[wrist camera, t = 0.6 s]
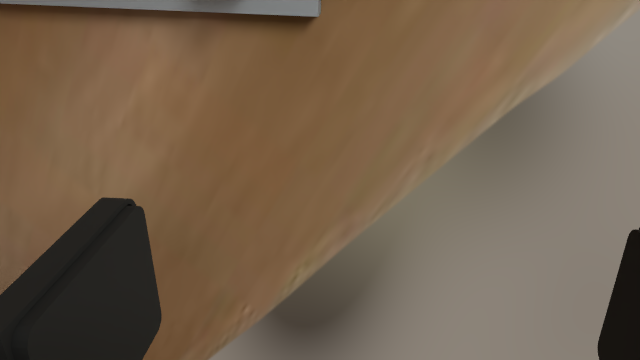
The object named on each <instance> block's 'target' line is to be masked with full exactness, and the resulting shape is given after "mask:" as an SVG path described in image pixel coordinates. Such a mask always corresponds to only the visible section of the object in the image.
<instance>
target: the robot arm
mask: <svg viewBox="0 0 640 360" xmlns="http://www.w3.org/2000/svg"><path fill="white" fill-rule="evenodd" d="M160 323H161V308H160V302H159V296H158V290H157V284H156V278H155V272H154V267H153V261H152V255H151V249H150V243H149V237H148V231H147V225H146V219H145V214H144V210H143V208H142V207H140V206H136V204H135V202H134V201H133V200H132V199H124V198H101V199H100V200H99V201H98V202H96V203H95V204H94V205H93V206H92V207H91V208H90V209H89V210H88V211H87V212H86V213H85V214H84V215H83V216H82V217H81V218H80V219H79V220H78V221H77V222H76V223H75V224H74V225H73V226H72V227H71V228H70V229H68V230H67V231H66V232H65V233H64V234H63V235H62V236H61V237H60V238H59V239H58V240H57V241H56V242H55V243H54V244H53V245H52V246H51V247H50V248H49V249H48V250H47V251H46V252H45V253H44V254H43V255H41V256H40V257H39V258H38V259H37V260H36V261H35V262H34V263H33V264H32V265H31V266H30V267H29V268H28V269H27V270H26V271H25V272H24V273H23V274H22V275H21V276H20V277H19V278H18V279H17V280H16V281H14V282H13V283H12V284H11V285H10V286H9V287H8V288H7V289H6V290H5V291H4V292H3V293H2V294H1V295H0V360H142V359H143V357H144V355H145V353H146V352H147V350H148V348H149V346H150V344H151V343H152V341H153V339H154V337H155V335H156V334H157V332H158V330H159V327H160ZM598 356H599V360H640V228H639V230H632V231H631V232H630V234H629V236H628V239H627V243H626V246H625V250H624V253H623V257H622V260H621V264H620V267H619V271H618V274H617V278H616V282H615V285H614V288H613V292H612V295H611V299H610V302H609V306H608V309H607V313H606V316H605V320H604V323H603V327H602V330H601V334H600V337H599V341H598Z"/></svg>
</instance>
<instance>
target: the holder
mask: <svg viewBox="0 0 640 360" xmlns="http://www.w3.org/2000/svg"><path fill="white" fill-rule="evenodd" d="M0 3H4V4H27V5H51V6H75V7H99V8H122V9H146V10H170V11H194V12H218V13H241V14H265V15H289V16H313V17H318V16H319V15H320V14H321V0H0Z"/></svg>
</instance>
